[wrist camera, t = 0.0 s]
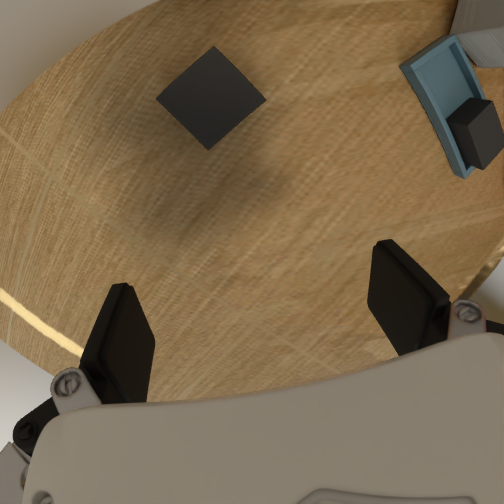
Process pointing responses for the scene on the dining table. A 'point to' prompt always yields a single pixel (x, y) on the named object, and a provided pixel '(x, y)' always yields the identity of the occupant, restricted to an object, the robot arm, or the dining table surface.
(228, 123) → the loose pad
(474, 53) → the cosmetic box
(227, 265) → the dining table surface
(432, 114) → the tray
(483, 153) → the seated pad
